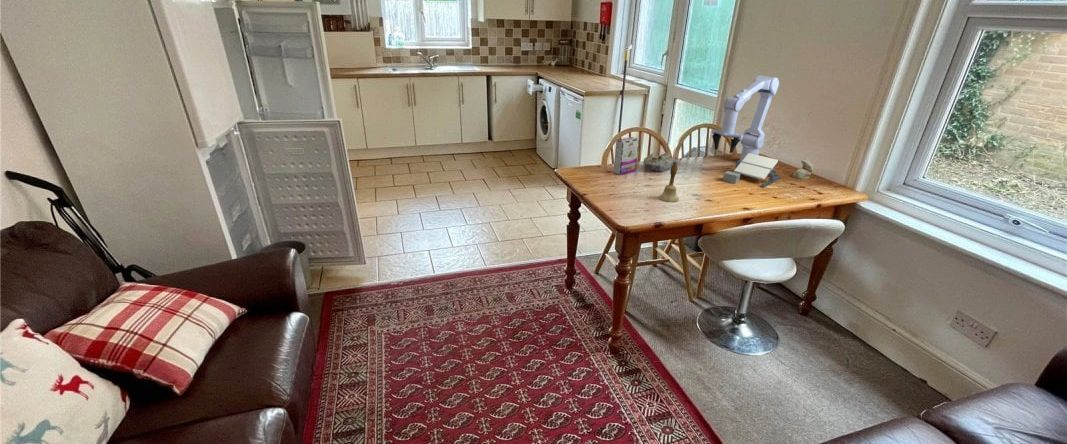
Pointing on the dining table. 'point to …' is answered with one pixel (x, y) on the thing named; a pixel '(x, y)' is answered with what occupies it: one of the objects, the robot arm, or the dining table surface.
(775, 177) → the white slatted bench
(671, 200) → the hand bell
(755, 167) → the trapdoor
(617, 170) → the candy bar box
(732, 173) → the gray rectangular block
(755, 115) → the robot arm
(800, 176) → the open clam shell
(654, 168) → the geode
